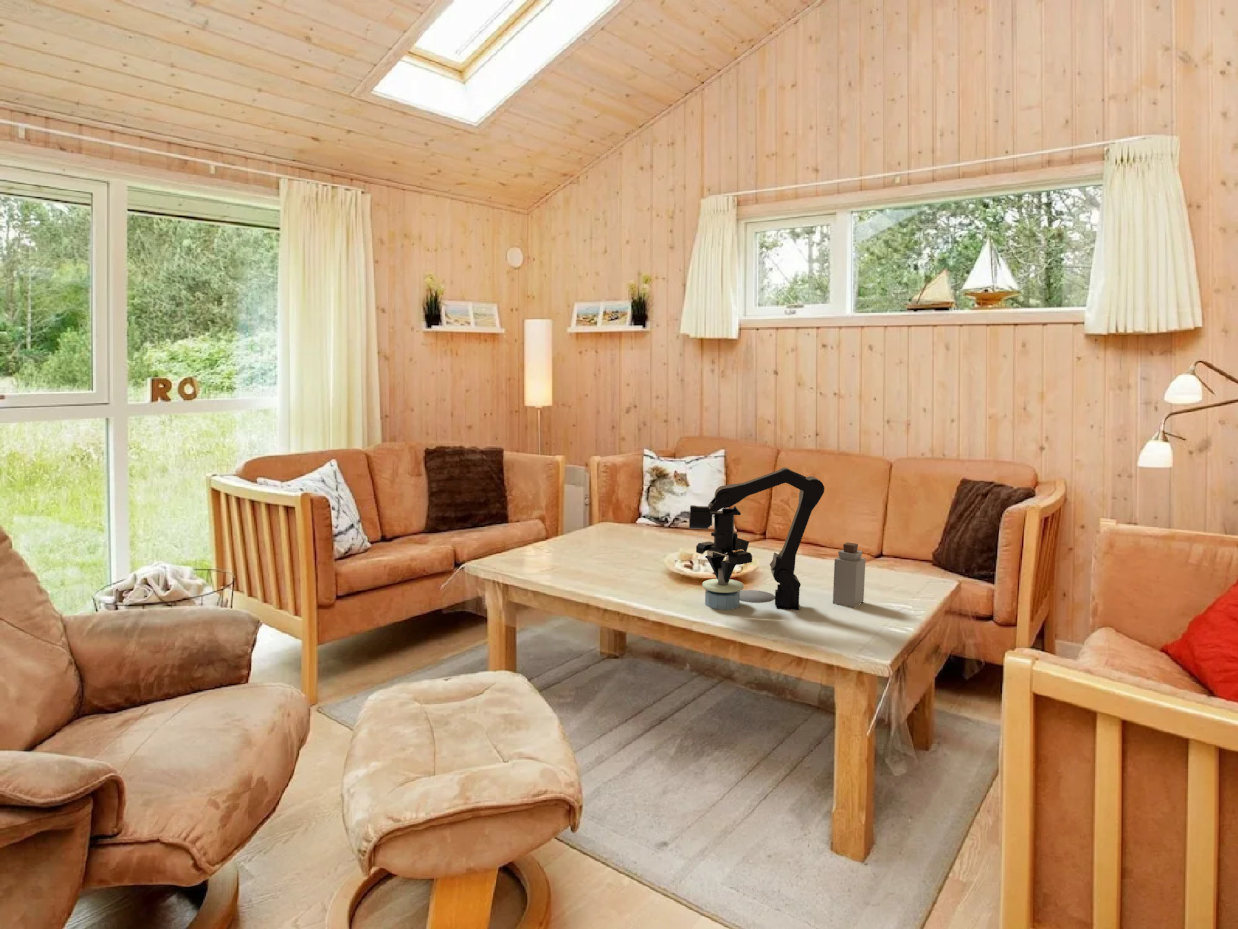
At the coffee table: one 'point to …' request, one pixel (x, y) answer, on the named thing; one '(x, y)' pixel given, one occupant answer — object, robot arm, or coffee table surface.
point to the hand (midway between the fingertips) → (723, 581)
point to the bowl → (722, 600)
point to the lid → (722, 584)
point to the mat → (756, 596)
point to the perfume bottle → (849, 576)
